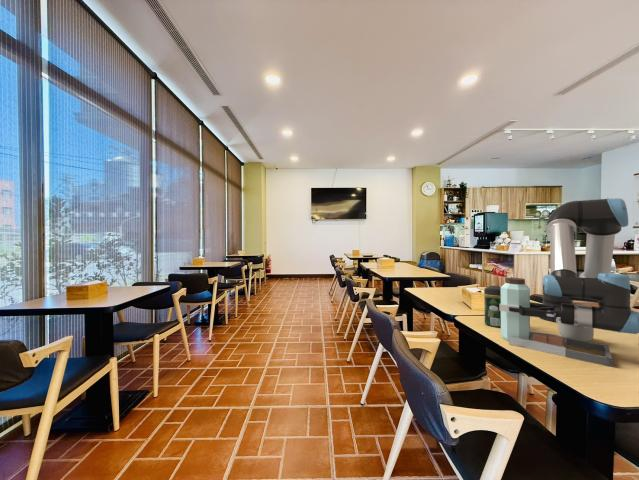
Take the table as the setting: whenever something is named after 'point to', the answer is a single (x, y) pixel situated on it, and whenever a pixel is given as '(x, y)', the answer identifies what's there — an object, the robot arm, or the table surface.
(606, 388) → the table surface
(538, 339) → the block
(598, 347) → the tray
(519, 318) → the water bottle
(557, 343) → the block
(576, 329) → the teacup
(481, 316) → the table surface
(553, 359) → the table surface
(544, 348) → the slot rails
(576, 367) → the table surface
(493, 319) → the coffee jar
